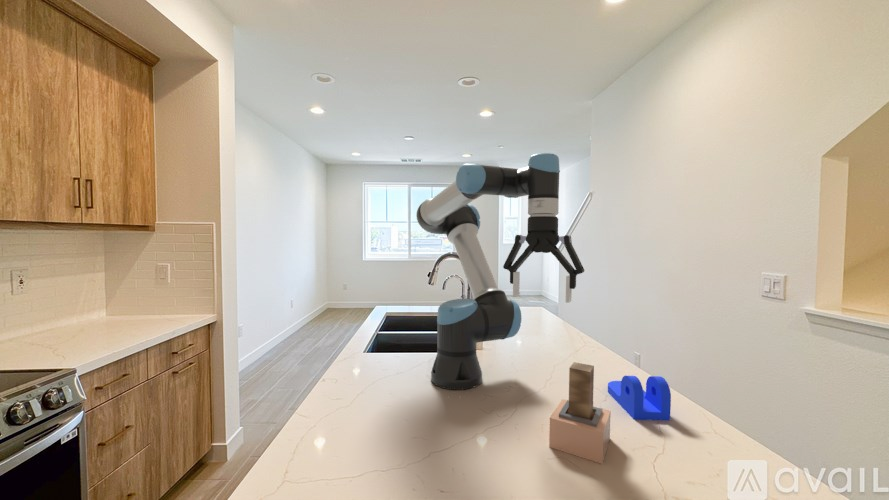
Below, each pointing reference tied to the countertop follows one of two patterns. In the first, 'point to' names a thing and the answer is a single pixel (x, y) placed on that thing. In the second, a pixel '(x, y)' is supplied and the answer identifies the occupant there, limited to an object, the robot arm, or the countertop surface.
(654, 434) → the countertop surface
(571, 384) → the tall wooden block
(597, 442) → the peach square socket block
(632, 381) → the bracket
